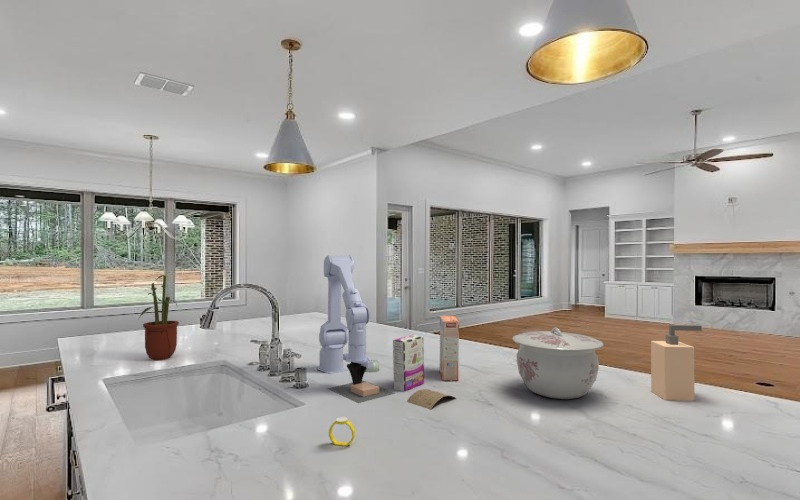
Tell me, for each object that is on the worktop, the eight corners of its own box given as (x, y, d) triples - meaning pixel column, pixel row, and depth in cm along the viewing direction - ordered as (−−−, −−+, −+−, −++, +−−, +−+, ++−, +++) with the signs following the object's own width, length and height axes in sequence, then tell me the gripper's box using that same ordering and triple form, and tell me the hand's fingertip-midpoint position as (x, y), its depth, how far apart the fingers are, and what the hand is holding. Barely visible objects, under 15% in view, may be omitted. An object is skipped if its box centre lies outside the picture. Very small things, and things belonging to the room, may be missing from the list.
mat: (327, 389, 142) (327, 388, 142) (362, 381, 151) (362, 380, 151) (358, 404, 128) (358, 403, 128) (395, 394, 137) (395, 393, 137)
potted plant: (185, 357, 185) (185, 274, 185) (147, 365, 172) (147, 276, 172) (162, 352, 194) (162, 273, 194) (124, 359, 181) (125, 275, 181)
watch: (328, 447, 100) (326, 421, 100) (332, 442, 103) (330, 416, 103) (353, 447, 99) (351, 421, 99) (356, 442, 102) (355, 416, 102)
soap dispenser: (665, 400, 131) (664, 327, 131) (650, 391, 140) (650, 322, 140) (709, 401, 130) (709, 327, 130) (692, 392, 139) (692, 323, 139)
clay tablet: (430, 412, 123) (430, 403, 123) (403, 404, 129) (403, 395, 129) (458, 399, 133) (458, 390, 134) (432, 392, 140) (432, 384, 140)
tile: (350, 385, 138) (363, 390, 133) (366, 382, 142) (379, 387, 137) (350, 391, 138) (363, 397, 133) (366, 388, 142) (379, 393, 137)
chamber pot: (575, 415, 119) (574, 339, 119) (494, 390, 140) (494, 326, 141) (621, 394, 137) (620, 328, 137) (543, 375, 158) (543, 318, 158)
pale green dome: (360, 370, 164) (360, 361, 164) (373, 368, 168) (373, 359, 168) (369, 374, 160) (369, 364, 160) (382, 371, 163) (382, 362, 163)
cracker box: (459, 381, 150) (459, 320, 151) (442, 381, 151) (442, 320, 151) (455, 370, 164) (455, 315, 165) (439, 370, 165) (439, 315, 165)
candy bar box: (412, 381, 150) (412, 334, 150) (424, 384, 147) (424, 335, 147) (392, 389, 141) (392, 339, 141) (404, 392, 138) (404, 341, 138)
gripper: (334, 341, 144) (334, 383, 144) (359, 349, 133) (359, 394, 133) (352, 339, 148) (352, 379, 148) (378, 346, 137) (378, 389, 137)
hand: (357, 386), depth 141 cm, fingers closed
